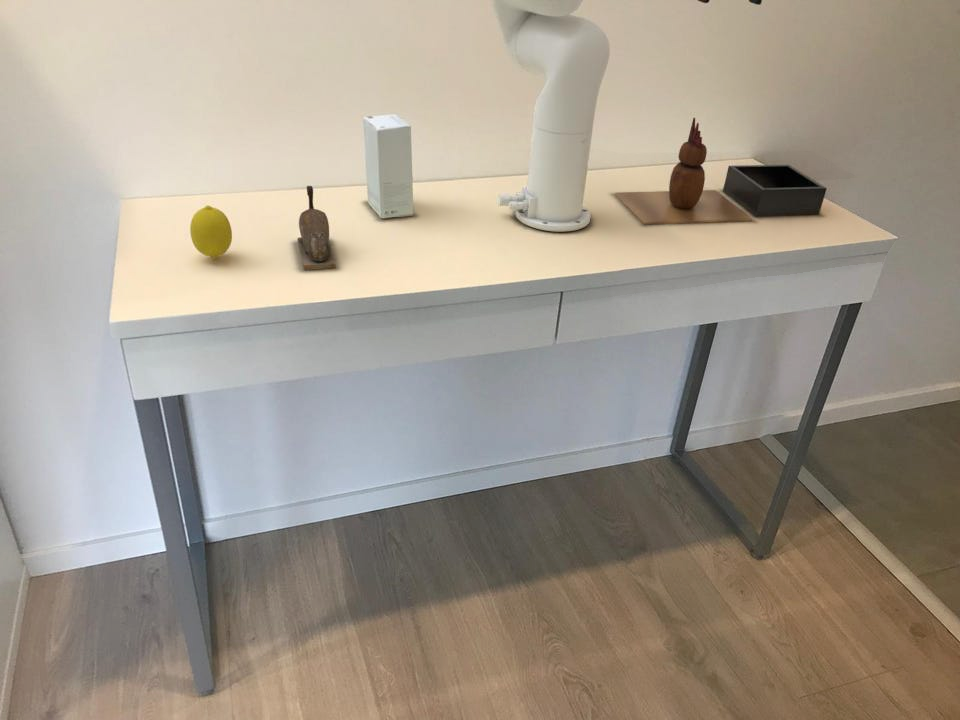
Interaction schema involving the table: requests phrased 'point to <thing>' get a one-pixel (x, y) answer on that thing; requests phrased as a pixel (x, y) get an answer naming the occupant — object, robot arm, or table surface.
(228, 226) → the lemon
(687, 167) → the wooden figurine
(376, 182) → the cosmetic box
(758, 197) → the box
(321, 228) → the figurine
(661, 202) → the brown wooden board
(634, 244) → the table surface
